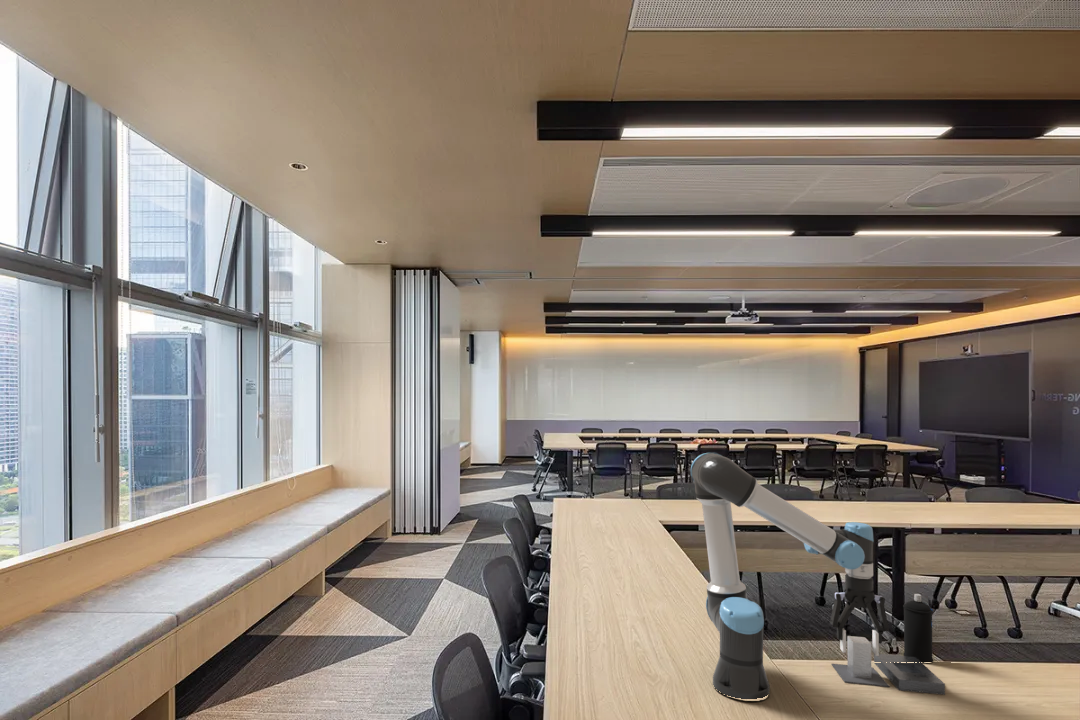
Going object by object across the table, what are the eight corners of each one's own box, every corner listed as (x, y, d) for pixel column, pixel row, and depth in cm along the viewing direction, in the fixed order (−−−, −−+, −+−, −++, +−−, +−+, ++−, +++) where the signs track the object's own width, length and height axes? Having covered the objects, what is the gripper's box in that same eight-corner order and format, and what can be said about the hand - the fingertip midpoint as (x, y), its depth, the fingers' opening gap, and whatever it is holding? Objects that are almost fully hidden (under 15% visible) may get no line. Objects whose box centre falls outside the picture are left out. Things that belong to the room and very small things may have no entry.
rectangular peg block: (853, 677, 178) (853, 642, 179) (847, 669, 183) (847, 635, 183) (871, 678, 177) (871, 643, 178) (865, 671, 182) (865, 637, 183)
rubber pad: (844, 682, 175) (844, 681, 175) (831, 664, 187) (831, 663, 187) (889, 687, 173) (889, 685, 173) (872, 668, 185) (872, 667, 185)
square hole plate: (898, 690, 171) (898, 679, 171) (874, 663, 189) (874, 653, 189) (944, 694, 169) (944, 683, 170) (915, 666, 187) (915, 657, 187)
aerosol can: (919, 664, 189) (918, 599, 190) (897, 653, 197) (896, 591, 198) (939, 662, 191) (939, 598, 192) (917, 651, 199) (916, 590, 200)
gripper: (825, 576, 180) (825, 654, 178) (902, 581, 176) (902, 661, 175) (818, 569, 187) (817, 644, 186) (891, 574, 184) (892, 650, 182)
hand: (859, 652), depth 180 cm, fingers open, 8 cm apart
